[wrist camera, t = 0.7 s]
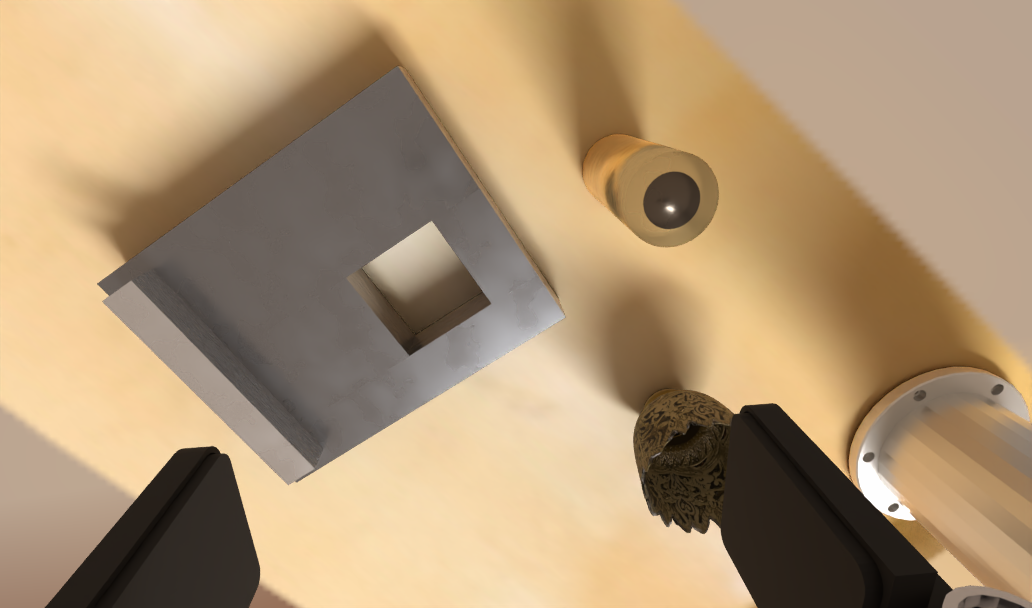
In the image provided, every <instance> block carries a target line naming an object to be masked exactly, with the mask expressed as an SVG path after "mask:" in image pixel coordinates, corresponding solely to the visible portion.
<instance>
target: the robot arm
mask: <svg viewBox="0 0 1032 608" xmlns="http://www.w3.org/2000/svg"><path fill="white" fill-rule="evenodd" d="M849 469H850V475H851V478H852V481H853V483H852V482H851V481H850V480H849V479H848V478H847V477H846V476H845V475H844V474H843V472H842V471H841V470H840V469H839V468H838V467H837V466H836V465H835V464H834V463H833V462H832V461H831V460H830V459H829V458H828V457H827V456H826V455H825V454H824V453H823V452H822V450H821V449H820V448H819V447H818V446H817V445H816V444H815V443H814V442H813V441H812V440H811V439H810V438H809V437H808V436H807V435H806V434H805V433H804V432H803V431H802V430H801V429H800V427H799V426H798V425H797V424H796V423H795V422H794V421H793V420H792V419H791V418H790V417H789V416H788V415H787V414H786V413H785V412H784V411H783V410H782V409H781V408H780V407H779V406H778V405H777V404H773V403H771V404H758V405H745V406H743V407H742V409H741V411H740V414H735V415H733V417H732V421H731V430H730V439H729V449H728V459H727V469H726V479H725V489H724V498H723V508H722V518H721V536H722V540H723V543H724V546H725V548H726V550H727V552H728V554H729V556H730V557H731V559H732V561H733V563H734V565H735V567H736V568H737V570H738V572H739V574H740V576H741V578H742V580H743V581H744V583H745V585H746V587H747V589H748V591H749V593H750V594H751V596H752V598H753V600H754V602H755V604H756V605H757V607H758V608H1032V423H1030V417H1029V412H1028V407H1027V405H1026V403H1025V401H1024V399H1023V397H1022V395H1021V394H1020V393H1019V391H1018V390H1017V389H1016V388H1015V387H1014V386H1013V385H1012V384H1010V383H1008V382H1007V381H1005V380H1004V379H1002V378H1000V377H998V376H997V375H994V374H992V373H990V372H988V371H986V370H982V369H978V368H973V367H948V368H942V369H936V370H933V371H930V372H927V373H924V374H921V375H918V376H916V377H914V378H912V379H910V380H908V381H906V382H904V383H902V384H901V385H899V386H898V387H896V388H895V389H894V390H892V391H891V392H889V393H888V394H887V395H885V396H884V397H883V398H882V399H881V400H880V401H879V402H878V403H877V404H876V405H875V406H874V407H873V408H872V409H871V411H870V412H869V413H868V414H867V415H866V417H865V418H864V419H863V421H862V423H861V425H860V426H859V428H858V430H857V432H856V434H855V436H854V439H853V442H852V445H851V448H850V456H849ZM882 513H883V514H886V515H889V516H891V517H894V518H899V519H905V520H917V521H918V522H919V523H920V524H921V525H922V526H923V527H924V528H925V529H926V530H927V531H928V532H929V533H930V534H931V535H932V536H933V537H935V538H936V539H937V540H938V541H939V542H940V543H941V544H942V545H943V546H944V547H945V548H946V549H947V550H948V551H949V552H950V553H951V554H952V555H953V556H954V557H955V558H956V559H957V560H958V561H959V562H960V563H961V564H962V565H963V566H964V567H965V568H966V569H967V570H968V571H969V572H970V573H971V574H972V575H973V576H974V577H976V578H977V579H978V580H979V581H980V582H981V583H982V584H983V585H984V586H985V587H981V586H965V587H959V588H955V589H954V590H953V589H952V588H951V587H950V586H949V585H948V584H947V583H946V582H945V581H944V580H943V579H942V578H941V577H940V576H939V575H938V574H937V573H938V572H937V571H936V570H935V569H934V568H933V567H932V566H931V565H930V564H929V562H928V561H927V560H926V559H925V558H924V557H923V556H922V555H921V554H920V553H919V552H918V551H917V550H916V549H915V548H914V547H913V546H912V545H911V544H910V543H909V542H908V540H907V539H906V538H905V537H904V536H903V535H902V534H901V533H900V532H899V531H898V530H897V529H896V528H895V527H894V526H893V525H892V524H891V523H890V522H889V521H888V520H887V519H886V517H885V516H884V515H883V514H882ZM259 580H260V566H259V562H258V558H257V554H256V551H255V547H254V544H253V540H252V536H251V533H250V529H249V526H248V522H247V518H246V515H245V511H244V508H243V504H242V500H241V497H240V493H239V489H238V486H237V482H236V479H235V475H234V471H233V468H232V464H231V461H230V458H229V456H228V455H227V454H221V453H220V451H219V450H218V449H217V448H216V447H214V446H211V447H198V448H185V449H180V450H178V451H177V452H176V453H175V454H174V455H173V456H172V457H171V459H170V460H169V461H168V462H167V463H166V465H165V466H164V467H163V468H162V469H161V471H160V472H159V473H158V474H157V475H156V476H155V478H154V479H153V480H152V481H151V482H150V484H149V485H148V486H147V487H146V488H145V490H144V491H143V492H142V493H141V494H140V495H139V497H138V498H137V499H136V500H135V501H134V503H133V504H132V505H131V506H130V507H129V509H128V510H127V511H126V512H125V513H124V515H123V516H122V517H121V518H120V519H119V521H118V522H117V523H116V524H115V525H114V527H113V528H112V529H111V530H110V531H109V532H108V533H107V535H106V536H105V537H104V538H103V540H102V541H101V542H100V543H99V544H98V545H97V547H96V548H95V549H94V550H93V551H92V552H91V554H90V555H89V556H88V557H87V558H86V560H85V561H84V562H83V563H82V564H81V566H80V567H79V568H78V569H77V570H76V571H75V573H74V574H73V575H72V576H71V577H70V579H69V580H68V581H67V582H66V583H65V584H64V586H63V587H62V588H61V589H60V591H59V592H58V593H57V594H56V595H55V597H54V598H53V599H52V600H51V601H50V602H49V604H48V605H47V606H46V607H45V608H249V606H250V603H251V601H252V599H253V597H254V595H255V592H256V590H257V587H258V585H259Z"/></svg>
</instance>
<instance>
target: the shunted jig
mask: <svg viewBox="0 0 1032 608" xmlns="http://www.w3.org/2000/svg"><path fill="white" fill-rule="evenodd" d="M430 221H433V223H434V224H435V226H436V227H437V228H438V230H439V231H440V233H441V234H442V235H443V237H444V238H445V240H446V241H447V242H448V244H449V245H450V246H451V248H452V249H453V251H454V252H455V253H456V255H457V256H458V258H459V259H460V260H461V262H462V263H463V265H464V266H465V267H466V269H467V270H468V272H469V273H470V274H471V276H472V277H473V279H474V280H475V281H476V283H477V284H478V285H479V287H480V288H481V290H482V291H483V292H482V293H480V294H479V295H477V296H476V297H474V298H472V299H471V300H469V301H468V302H466V303H465V304H463V305H461V306H460V307H458V308H457V309H455V310H454V311H452V312H450V313H449V314H447V315H446V316H444V317H443V318H441V319H440V320H438V321H436V322H435V323H433V324H432V325H430V326H429V327H427V328H425V329H424V330H422V331H421V332H419V333H418V334H416V335H414V334H413V332H412V331H411V330H410V329H409V327H408V326H407V325H406V324H405V322H404V321H403V320H402V319H401V317H400V316H399V315H398V314H397V312H396V311H395V310H394V309H393V307H392V306H391V305H390V304H389V302H388V301H387V300H386V299H385V297H384V296H383V295H382V293H381V292H380V291H379V290H378V288H377V287H376V286H375V285H374V283H373V282H372V281H371V280H370V278H369V277H368V276H367V275H366V273H365V272H364V271H363V270H362V268H361V267H363V266H364V265H366V264H367V263H369V262H370V261H372V260H373V259H375V258H376V257H378V256H379V255H381V254H382V253H384V252H385V251H387V250H388V249H390V248H391V247H393V246H394V245H396V244H397V243H399V242H400V241H402V240H403V239H405V238H406V237H408V236H409V235H411V234H412V233H414V232H415V231H417V230H418V229H420V228H421V227H423V226H424V225H426V224H427V223H429V222H430ZM97 284H98V285H99V286H100V287H101V288H102V289H103V290H104V291H105V292H106V293H107V294H108V295H109V297H107V298H106V299H105V300H103V301H102V302H103V303H104V304H105V305H106V306H107V307H108V308H109V309H110V310H111V311H112V312H113V313H114V314H115V315H116V316H117V317H118V318H119V319H120V320H121V321H122V322H123V323H124V324H125V325H126V326H127V327H128V328H129V329H130V330H131V331H132V332H134V333H135V334H136V335H137V336H138V337H139V338H140V339H141V340H142V341H143V342H144V343H145V344H146V345H147V346H148V347H149V348H150V349H151V350H152V351H153V352H154V353H155V354H156V355H157V356H158V357H159V358H160V359H161V360H162V361H163V362H164V363H165V364H166V365H167V366H168V367H169V368H170V369H171V370H172V371H173V372H174V373H175V374H176V375H177V376H178V377H179V378H180V379H181V380H182V381H183V382H184V383H185V384H186V385H187V386H188V387H189V388H190V389H191V390H192V391H193V392H194V393H195V394H196V395H197V396H198V397H199V398H200V399H201V400H202V401H203V402H204V403H205V404H206V405H207V406H209V407H210V408H211V409H212V410H213V411H214V412H215V413H216V414H217V415H218V416H219V417H220V418H221V419H222V420H223V421H224V422H225V423H226V424H227V425H228V426H229V427H230V428H231V429H232V430H233V431H234V432H235V433H236V434H237V435H238V436H239V437H240V438H241V439H242V440H243V441H244V442H245V443H246V444H247V445H248V446H249V447H250V448H251V449H252V450H253V451H254V452H255V453H256V454H257V455H258V456H259V457H260V458H261V459H262V460H263V461H264V462H265V463H266V464H267V465H268V466H269V467H270V468H271V469H272V470H273V471H274V472H275V473H276V474H277V475H278V476H279V477H280V478H281V479H282V480H284V481H285V482H286V483H287V484H288V485H289V484H291V483H293V482H294V481H296V482H298V481H300V480H302V479H303V478H305V477H306V476H308V475H310V474H311V473H313V472H315V471H316V470H318V469H319V468H321V467H323V466H324V465H326V464H328V463H329V462H331V461H332V460H334V459H336V458H337V457H339V456H341V455H342V454H344V453H345V452H347V451H349V450H350V449H352V448H354V447H355V446H357V445H358V444H360V443H362V442H363V441H365V440H367V439H368V438H370V437H372V436H373V435H375V434H376V433H378V432H380V431H381V430H383V429H385V428H386V427H388V426H389V425H391V424H393V423H394V422H396V421H398V420H399V419H401V418H402V417H404V416H406V415H407V414H409V413H411V412H412V411H414V410H415V409H417V408H419V407H420V406H422V405H424V404H425V403H427V402H429V401H430V400H432V399H433V398H435V397H437V396H438V395H440V394H442V393H443V392H445V391H446V390H448V389H450V388H451V387H453V386H455V385H456V384H458V383H459V382H461V381H463V380H464V379H466V378H468V377H469V376H471V375H472V374H474V373H476V372H477V371H479V370H481V369H482V368H484V367H485V366H487V365H489V364H490V363H492V362H494V361H495V360H497V359H499V358H500V357H502V356H503V355H505V354H507V353H508V352H510V351H512V350H513V349H515V348H516V347H518V346H520V345H521V344H523V343H525V342H526V341H528V340H529V339H531V338H533V337H534V336H536V335H538V334H539V333H541V332H542V331H544V330H546V329H547V328H549V327H551V326H552V325H554V324H555V323H557V322H559V321H560V320H562V319H564V318H565V317H566V316H565V314H564V311H563V309H562V306H561V304H560V301H559V299H558V297H557V296H556V294H555V293H554V291H553V290H552V288H551V287H550V285H549V284H548V282H547V281H546V279H545V278H544V276H543V275H542V273H541V272H540V270H539V269H538V267H537V266H536V264H535V263H534V261H533V260H532V258H531V257H530V255H529V254H528V252H527V251H526V249H525V248H524V246H523V245H522V243H521V242H520V240H519V239H518V237H517V236H516V234H515V233H514V231H513V230H512V228H511V227H510V225H509V224H508V222H507V221H506V219H505V218H504V216H503V215H502V213H501V212H500V210H499V209H498V207H497V206H496V204H495V203H494V201H493V200H492V198H491V197H490V195H489V194H488V192H487V190H486V189H485V187H484V186H483V184H482V183H481V181H480V180H479V178H478V177H477V175H476V174H475V172H474V171H473V169H472V168H471V166H470V165H469V163H468V162H467V160H466V159H465V157H464V156H463V154H462V153H461V151H460V150H459V148H458V147H457V145H456V144H455V142H454V141H453V139H452V138H451V136H450V135H449V133H448V132H447V130H446V129H445V127H444V126H443V124H442V123H441V121H440V120H439V118H438V117H437V115H436V114H435V112H434V111H433V109H432V108H431V106H430V105H429V103H428V102H427V100H426V99H425V97H424V96H423V94H422V93H421V91H420V90H419V88H418V87H417V85H416V84H415V82H414V81H413V79H412V78H411V76H410V75H409V73H408V72H407V70H406V69H405V68H403V67H400V66H396V67H395V68H394V69H392V70H391V71H390V72H388V73H387V74H385V75H384V76H383V77H381V78H380V79H379V80H377V81H376V82H374V83H373V84H372V85H370V86H369V87H368V88H366V89H365V90H363V91H362V92H361V93H359V94H358V95H356V96H355V97H354V98H352V99H351V100H350V101H348V102H347V103H345V104H344V105H343V106H341V107H340V108H339V109H337V110H336V111H334V112H333V113H332V114H330V115H329V116H328V117H326V118H325V119H323V120H322V121H321V122H319V123H318V124H317V125H315V126H314V127H312V128H311V129H310V130H308V131H307V132H306V133H304V134H303V135H301V136H300V137H299V138H297V139H296V140H294V141H293V142H292V143H290V144H289V145H288V146H286V147H285V148H283V149H282V150H281V151H279V152H278V153H277V154H275V155H274V156H272V157H271V158H270V159H268V160H267V161H266V162H264V163H263V164H261V165H260V166H259V167H257V168H256V169H255V170H253V171H252V172H250V173H249V174H248V175H246V176H245V177H244V178H242V179H241V180H239V181H238V182H237V183H235V184H234V185H232V186H231V187H230V188H228V189H227V190H226V191H224V192H223V193H221V194H220V195H219V196H217V197H216V198H215V199H213V200H212V201H210V202H209V203H208V204H206V205H205V206H204V207H202V208H201V209H199V210H198V211H197V212H195V213H194V214H193V215H191V216H190V217H188V218H187V219H186V220H184V221H183V222H182V223H180V224H179V225H177V226H176V227H175V228H173V229H172V230H170V231H169V232H168V233H166V234H165V235H164V236H162V237H161V238H159V239H158V240H157V241H155V242H154V243H153V244H151V245H150V246H148V247H147V248H146V249H144V250H143V251H142V252H140V253H139V254H137V255H136V256H135V257H133V258H132V259H131V260H129V261H128V262H126V263H125V264H124V265H122V266H121V267H120V268H118V269H117V270H115V271H114V272H113V273H111V274H110V275H109V276H107V277H106V278H104V279H103V280H102V281H100V282H99V283H97Z"/></svg>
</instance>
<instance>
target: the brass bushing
mask: <svg viewBox="0 0 1032 608" xmlns="http://www.w3.org/2000/svg"><path fill="white" fill-rule="evenodd" d="M582 172H583V180H584V183H585V185H586V187H587V189H588V191H589V192H590V193H591V194H592V195H593V196H594V197H595V198H596V199H597V200H598V201H599V202H600V203H601V204H603V205H604V206H605V207H606V208H607V209H608V210H609V211H610V212H611V213H612V214H614V215H615V216H616V217H617V218H618V219H619V220H620V221H621V222H622V223H623V224H625V225H626V226H627V227H628V228H629V229H630V230H631V231H632V232H633V233H634V234H636V235H637V236H638V237H639V238H640V239H642V240H643V241H645V242H646V243H649V244H651V245H654V246H658V247H674V246H679V245H682V244H685V243H687V242H689V241H691V240H693V239H694V238H696V237H697V236H698V235H699V234H701V233H702V232H703V231H704V230H705V228H706V227H707V226H708V225H709V223H710V222H711V220H712V218H713V216H714V214H715V211H716V208H717V205H718V198H719V190H718V184H717V180H716V177H715V175H714V173H713V171H712V170H711V168H710V167H709V166H708V164H707V163H705V162H704V161H703V160H702V159H700V158H699V157H697V156H695V155H693V154H690V153H687V152H683V151H680V150H676V149H673V148H670V147H666V146H663V145H659V144H656V143H652V142H649V141H646V140H642V139H639V138H635V137H632V136H629V135H625V134H613V135H609V136H606V137H604V138H602V139H600V140H599V141H597V142H596V143H595V144H594V145H593V146H592V147H591V148H590V150H589V151H588V153H587V155H586V157H585V159H584V163H583V171H582Z"/></svg>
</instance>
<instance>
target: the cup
mask: <svg viewBox="0 0 1032 608" xmlns="http://www.w3.org/2000/svg"><path fill="white" fill-rule="evenodd" d="M733 415H735V414H734V413H732V412H731V411H730V410H729V409H728V408H726V407H725V406H724V405H723V404H721V403H720V402H719V401H717V400H715V399H714V398H712V397H710V396H708V395H706V394H703V393H700V392H696V391H691V390H677V389H663V390H660V391H658V392H656V393H654V394H653V395H652V396H650V397H649V398H648V400H647V401H646V403H645V405H644V408H643V411H642V413H641V414H640V416H639V418H638V420H637V422H636V425H635V429H634V436H633V444H634V453H635V459H636V464H637V468H638V472H639V476H640V480H641V484H642V490H643V494H644V497H645V499H646V502H647V505H648V508H649V511H650V513H651V514H652V515H653V516H656V514H657V515H660V516H661V518H662V521H663V522H664V524H665V525H666V526H667V527H669V526H670V524H671V522H672V519H673V521H674V522H675V524H676V525H679V526H680V527H681V528H682V529H683V530H684V531H685V532H687V533H690V532H691V528H692V527H693V528H694V529H695V530H696V531H698V532H700V533H702V534H705V533H706V532H707V530H708V528H709V524H710V522H709V520H710V519H711V520H712V521H714V522H715V523H716V524H717V525H718V526H719V528H721V518H722V508H723V498H724V489H725V479H726V469H727V459H728V449H729V439H730V430H731V421H732V417H733Z"/></svg>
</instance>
